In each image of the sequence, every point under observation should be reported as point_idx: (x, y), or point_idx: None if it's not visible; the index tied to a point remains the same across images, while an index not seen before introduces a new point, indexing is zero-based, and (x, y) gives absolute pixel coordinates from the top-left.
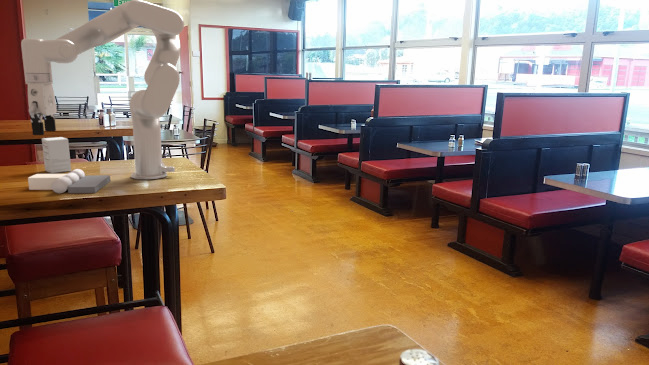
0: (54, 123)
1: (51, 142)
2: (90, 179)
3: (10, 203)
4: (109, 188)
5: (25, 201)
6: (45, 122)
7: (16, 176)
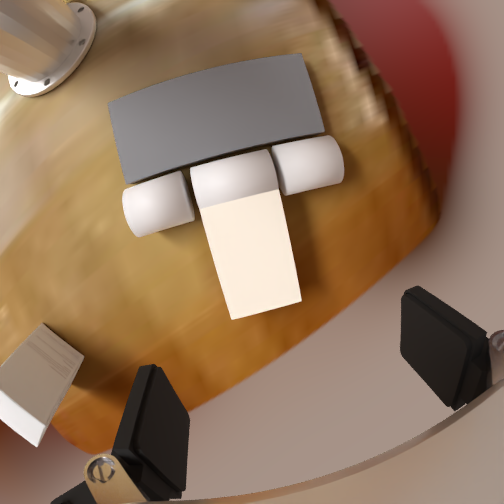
0: (138, 414)
1: (37, 412)
2: (189, 122)
3: (425, 226)
4: (226, 48)
5: (410, 202)
6: (183, 469)
7: None
